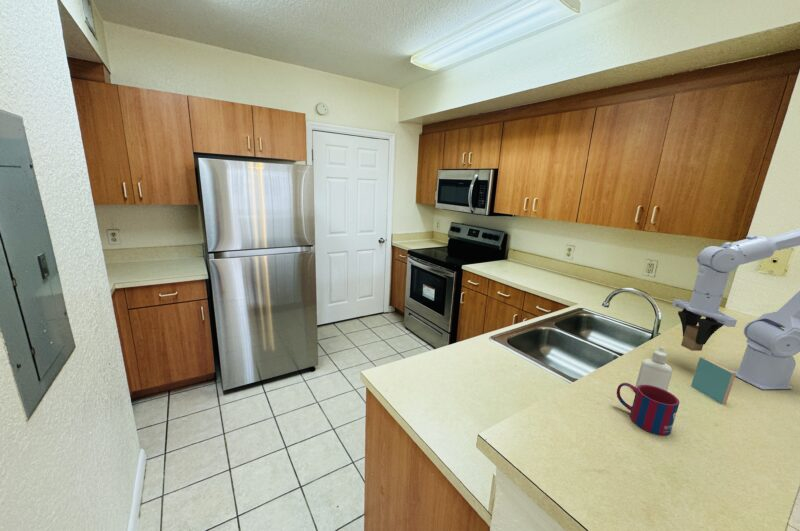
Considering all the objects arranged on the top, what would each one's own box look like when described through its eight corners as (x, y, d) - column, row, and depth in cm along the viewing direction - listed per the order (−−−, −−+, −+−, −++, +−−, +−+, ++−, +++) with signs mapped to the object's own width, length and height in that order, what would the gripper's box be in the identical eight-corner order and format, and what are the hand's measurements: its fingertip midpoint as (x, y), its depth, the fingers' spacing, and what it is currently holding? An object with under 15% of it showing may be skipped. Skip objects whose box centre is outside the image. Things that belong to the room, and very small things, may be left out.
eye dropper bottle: (657, 402, 73) (671, 354, 70) (631, 388, 78) (643, 343, 75) (667, 398, 75) (681, 351, 72) (641, 385, 80) (653, 340, 77)
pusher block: (690, 345, 89) (696, 325, 88) (701, 350, 86) (707, 329, 85) (680, 345, 89) (686, 325, 87) (691, 350, 86) (698, 329, 84)
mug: (661, 440, 61) (670, 409, 60) (607, 409, 70) (613, 381, 68) (676, 429, 65) (685, 399, 63) (622, 400, 73) (629, 373, 72)
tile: (695, 386, 81) (703, 357, 79) (725, 404, 74) (736, 373, 72) (690, 386, 81) (699, 357, 79) (721, 404, 74) (731, 373, 72)
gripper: (668, 284, 90) (656, 329, 93) (725, 302, 76) (709, 354, 79) (690, 284, 91) (677, 329, 94) (750, 302, 77) (733, 354, 80)
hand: (693, 340), depth 87 cm, fingers closed on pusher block, 3 cm apart
